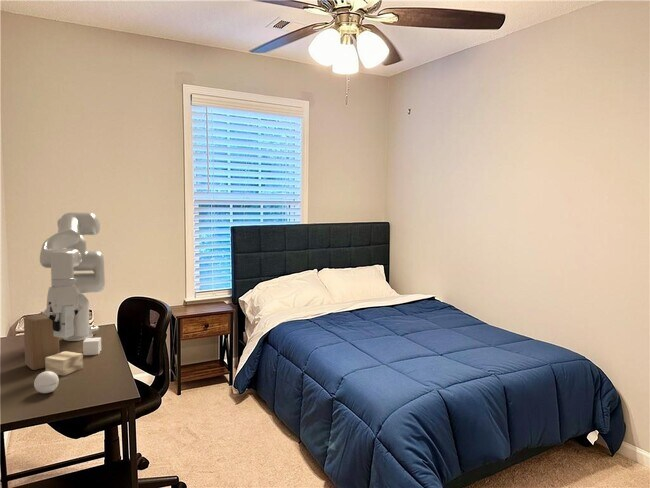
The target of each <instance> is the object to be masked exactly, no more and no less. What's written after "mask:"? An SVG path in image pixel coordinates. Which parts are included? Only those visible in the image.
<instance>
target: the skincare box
mask: <svg viewBox="0 0 650 488" xmlns="http://www.w3.org/2000/svg"><path fill="white" fill-rule="evenodd" d="M58 321H60V331H58V332H57V331H54V337H59V338H60V339H61V338H62V339H64V338H67V337H70V336H73V335H74V305H71V306H65V307H63V312H62V313H60V314H59V319H58Z"/></svg>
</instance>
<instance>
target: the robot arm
mask: <svg viewBox="0 0 650 488" xmlns="http://www.w3.org/2000/svg"><path fill="white" fill-rule="evenodd" d="M57 228H58V229H57V230H58V231H57V233H55V234H53V235H51V236H49V237H48V238H47V239H45V240H44V241H43V243H42V245H41V250H40V253H39V263H40V265H41V266H42V267H44V268H45V269H46V268H47V269H50V277H51V278H50V282H51V285H50V287H48V291H47V296H46V308H45V310H44V311H43V313H42V314H43V315H45V316H47V317H48V318H50V319H51V320H52V321H53V330H54V331H57V332H58V331H60V321H58V319H59V314H60V313H62V312H63V307H65V306H71V305H74V335H73V336H70V337H67V338H63V340H64V341H66V342H67V341H68V342H79V341H84V340H85V339H86V338H94V332H95V331H99V326H90V303H89V300H88V298H87V297H86V295H84V294H87V293H89V294H91V293H100V292H103V290H104V289H105V283H106V281H105V279H106V277H105V260H104V259H105V258H104V255H103V253H102V252H101V251H98V250H88V249H87V240H86V238H85V237H84V236H97V235H98V234H99V233H100V230H101V223H100V219H99V218H98V216H97V215H96V214H94V213H92V212H66V213H64V214H62V216H61V217H60V218H58V219H57ZM86 271H87V272H86ZM88 271H89V272H88ZM90 271H92V272H90ZM74 272H78V273H74ZM80 272H81V273H80ZM50 313H51V314H52V315H51V314H50Z"/></svg>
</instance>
